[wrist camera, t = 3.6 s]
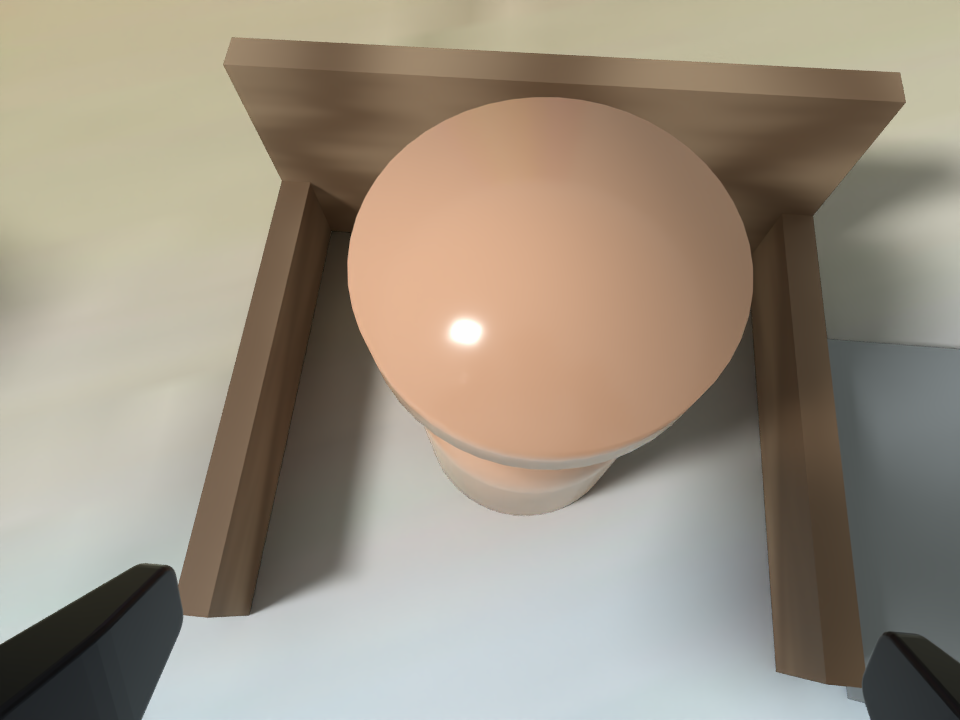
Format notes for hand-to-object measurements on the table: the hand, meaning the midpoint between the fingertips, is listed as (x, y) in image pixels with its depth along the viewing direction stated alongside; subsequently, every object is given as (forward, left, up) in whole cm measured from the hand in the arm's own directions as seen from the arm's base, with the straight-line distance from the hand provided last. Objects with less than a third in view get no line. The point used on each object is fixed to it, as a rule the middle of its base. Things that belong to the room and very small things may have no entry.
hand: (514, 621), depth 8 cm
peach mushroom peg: (0, -6, -12) cm, 13 cm away
